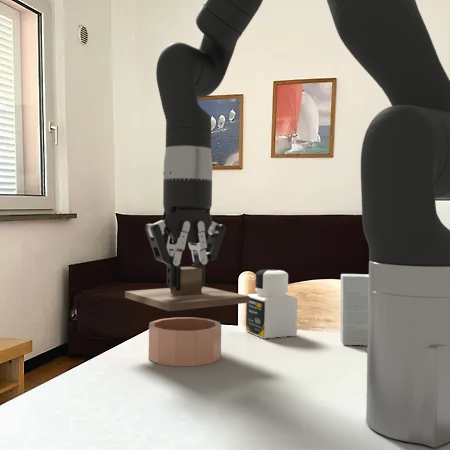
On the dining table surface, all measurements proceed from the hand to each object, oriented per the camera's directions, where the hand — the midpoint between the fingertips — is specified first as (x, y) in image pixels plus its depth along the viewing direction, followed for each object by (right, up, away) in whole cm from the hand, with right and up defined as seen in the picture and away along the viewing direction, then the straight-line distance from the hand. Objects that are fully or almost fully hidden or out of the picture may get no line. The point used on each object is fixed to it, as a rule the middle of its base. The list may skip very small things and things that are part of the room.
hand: (186, 288), depth 83 cm
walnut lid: (0, -2, 0) cm, 2 cm away
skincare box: (+29, -11, +10) cm, 33 cm away
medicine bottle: (+15, -11, +17) cm, 25 cm away
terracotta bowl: (0, -11, 0) cm, 11 cm away
